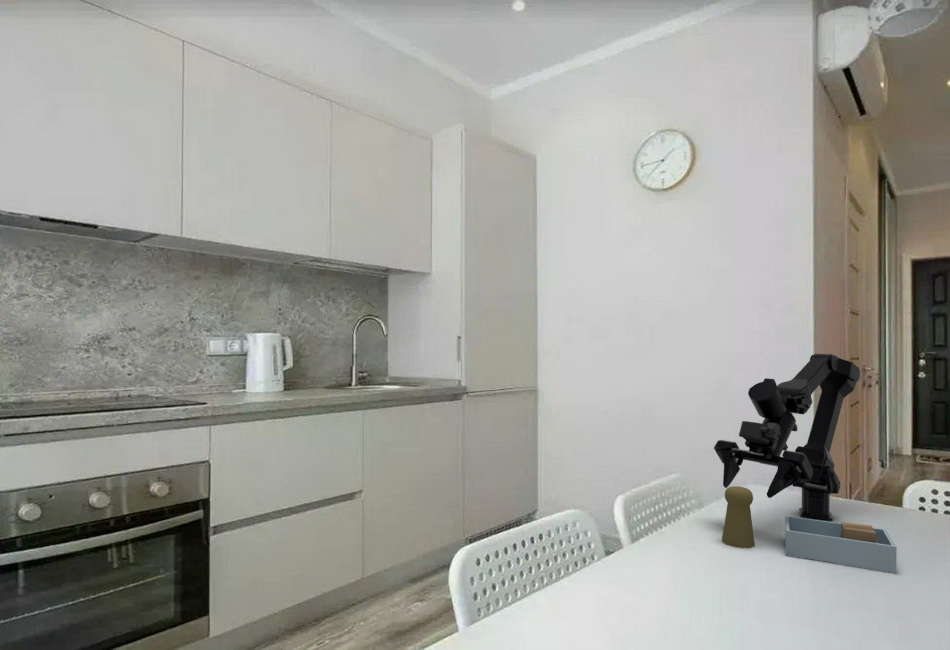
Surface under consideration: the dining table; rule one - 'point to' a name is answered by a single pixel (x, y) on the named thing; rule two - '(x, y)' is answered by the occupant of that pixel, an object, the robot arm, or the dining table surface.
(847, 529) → the walnut cube
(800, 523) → the tote
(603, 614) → the dining table surface
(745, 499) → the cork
